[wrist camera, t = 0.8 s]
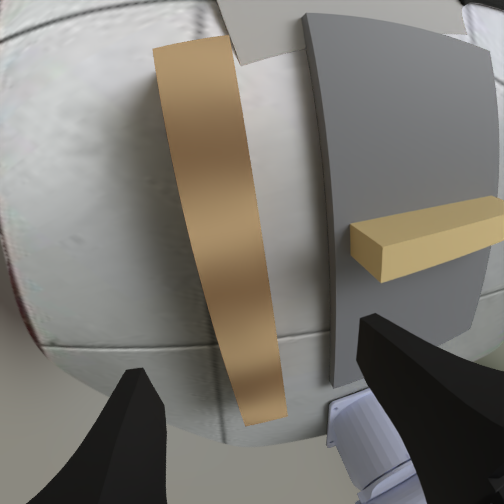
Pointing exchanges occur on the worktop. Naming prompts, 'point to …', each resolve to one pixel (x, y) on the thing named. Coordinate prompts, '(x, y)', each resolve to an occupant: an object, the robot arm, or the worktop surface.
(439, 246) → the ridge stand
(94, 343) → the worktop surface
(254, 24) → the kitchen cleaver
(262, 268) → the oak beam
